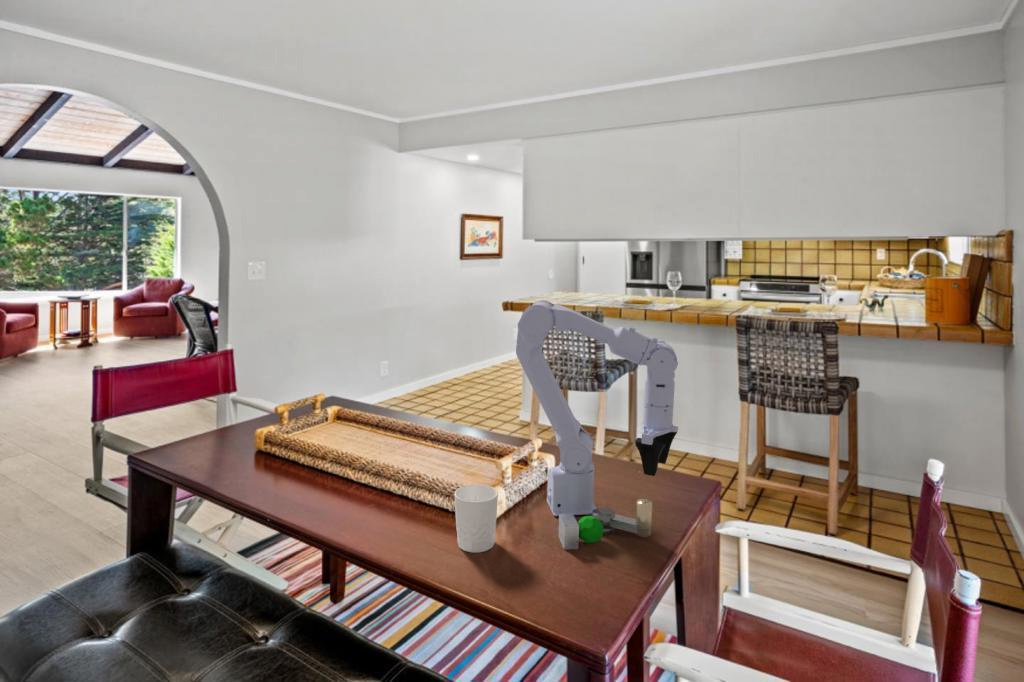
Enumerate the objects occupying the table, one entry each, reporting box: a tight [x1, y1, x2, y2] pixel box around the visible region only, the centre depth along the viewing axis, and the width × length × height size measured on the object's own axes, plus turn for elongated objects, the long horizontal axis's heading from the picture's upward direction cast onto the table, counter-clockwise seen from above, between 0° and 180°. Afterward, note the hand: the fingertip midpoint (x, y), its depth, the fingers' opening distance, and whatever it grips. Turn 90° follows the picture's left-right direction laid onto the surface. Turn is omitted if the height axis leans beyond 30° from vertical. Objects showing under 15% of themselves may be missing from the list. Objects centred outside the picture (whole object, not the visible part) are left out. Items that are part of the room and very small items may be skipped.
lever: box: [591, 498, 653, 538], centre depth 117 cm, size 12×4×6 cm, turn 59°
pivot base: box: [602, 527, 616, 535], centre depth 119 cm, size 5×5×1 cm
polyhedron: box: [577, 515, 604, 544], centre depth 114 cm, size 5×5×5 cm
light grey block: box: [557, 513, 580, 550], centre depth 113 cm, size 3×5×4 cm, turn 8°
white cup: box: [453, 483, 499, 553], centre depth 112 cm, size 8×8×10 cm
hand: (655, 468), depth 124 cm, fingers open, 7 cm apart
